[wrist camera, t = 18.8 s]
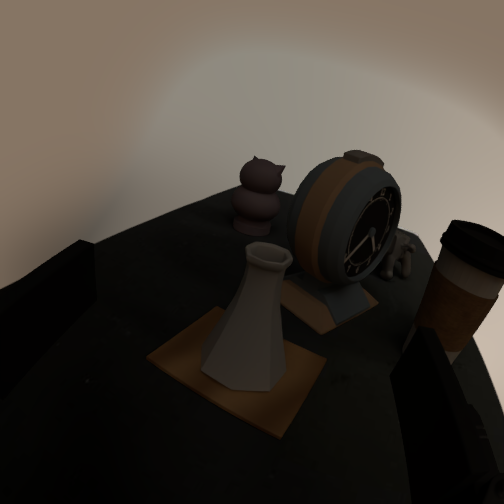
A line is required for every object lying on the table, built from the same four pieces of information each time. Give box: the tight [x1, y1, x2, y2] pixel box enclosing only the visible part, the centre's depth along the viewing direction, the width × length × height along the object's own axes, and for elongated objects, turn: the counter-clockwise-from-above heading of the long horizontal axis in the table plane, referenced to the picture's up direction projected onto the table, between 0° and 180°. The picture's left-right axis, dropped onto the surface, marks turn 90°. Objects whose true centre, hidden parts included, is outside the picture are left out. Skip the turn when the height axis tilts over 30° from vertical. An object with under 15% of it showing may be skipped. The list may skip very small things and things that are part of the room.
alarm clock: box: [280, 150, 401, 335], centre depth 34 cm, size 14×10×18 cm
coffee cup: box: [402, 220, 504, 364], centre depth 26 cm, size 8×8×15 cm
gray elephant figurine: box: [380, 230, 416, 280], centre depth 46 cm, size 9×12×8 cm
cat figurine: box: [231, 156, 285, 236], centre depth 52 cm, size 9×8×12 cm
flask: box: [201, 242, 293, 392], centre depth 23 cm, size 7×7×10 cm
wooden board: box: [147, 306, 327, 440], centre depth 25 cm, size 12×10×1 cm
